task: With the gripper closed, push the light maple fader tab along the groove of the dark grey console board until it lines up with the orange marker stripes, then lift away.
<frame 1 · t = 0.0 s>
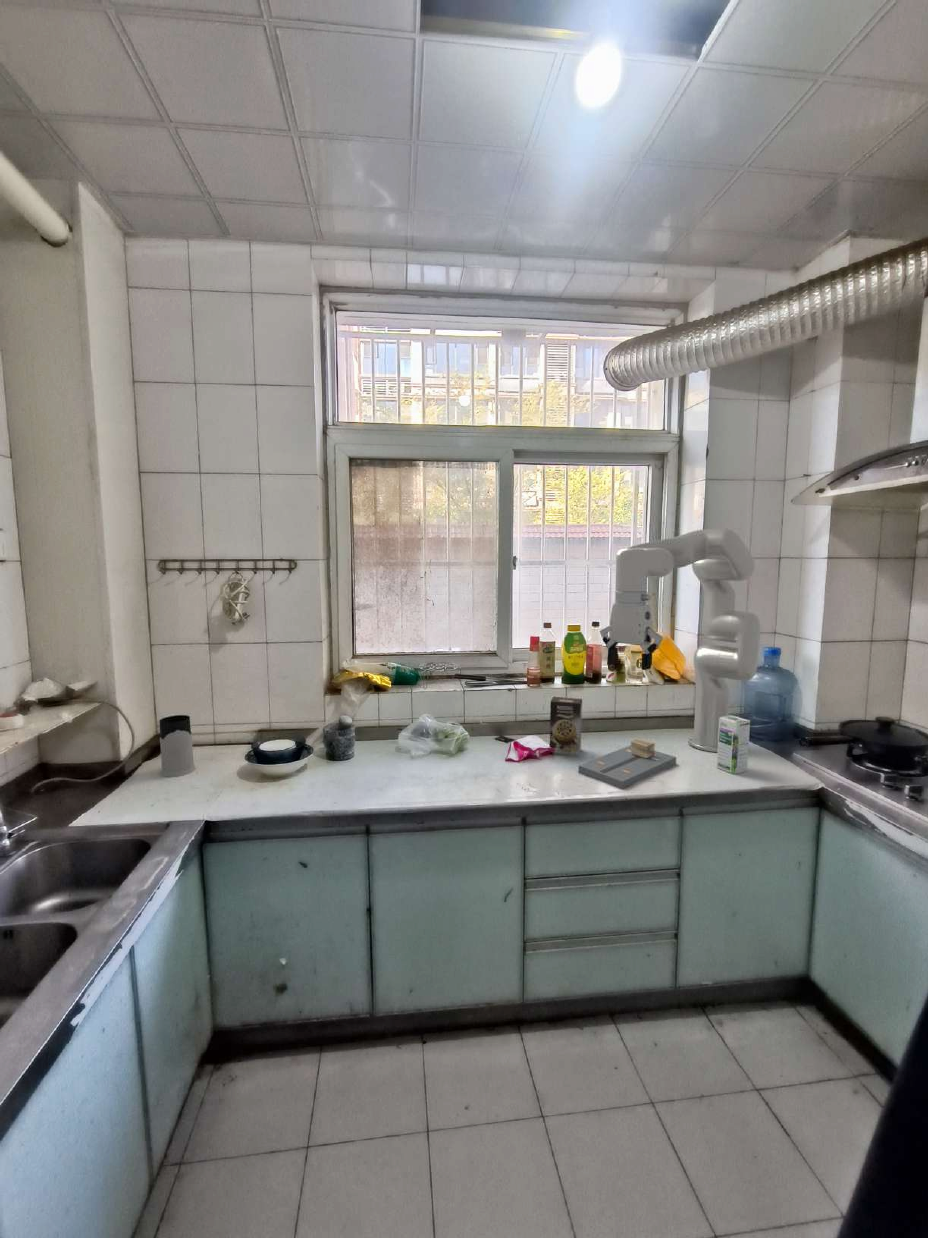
hand: (629, 666, 136), 31 cm above the counter, tool pointing down, fingers open, 9 cm apart
syrup box: (731, 770, 149), on the counter
console board: (628, 768, 150), on the counter
fader: (642, 748, 154), point 4 cm above the counter, slide at 0.0 cm
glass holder: (176, 768, 153), on the counter
cookie box: (565, 752, 164), on the counter
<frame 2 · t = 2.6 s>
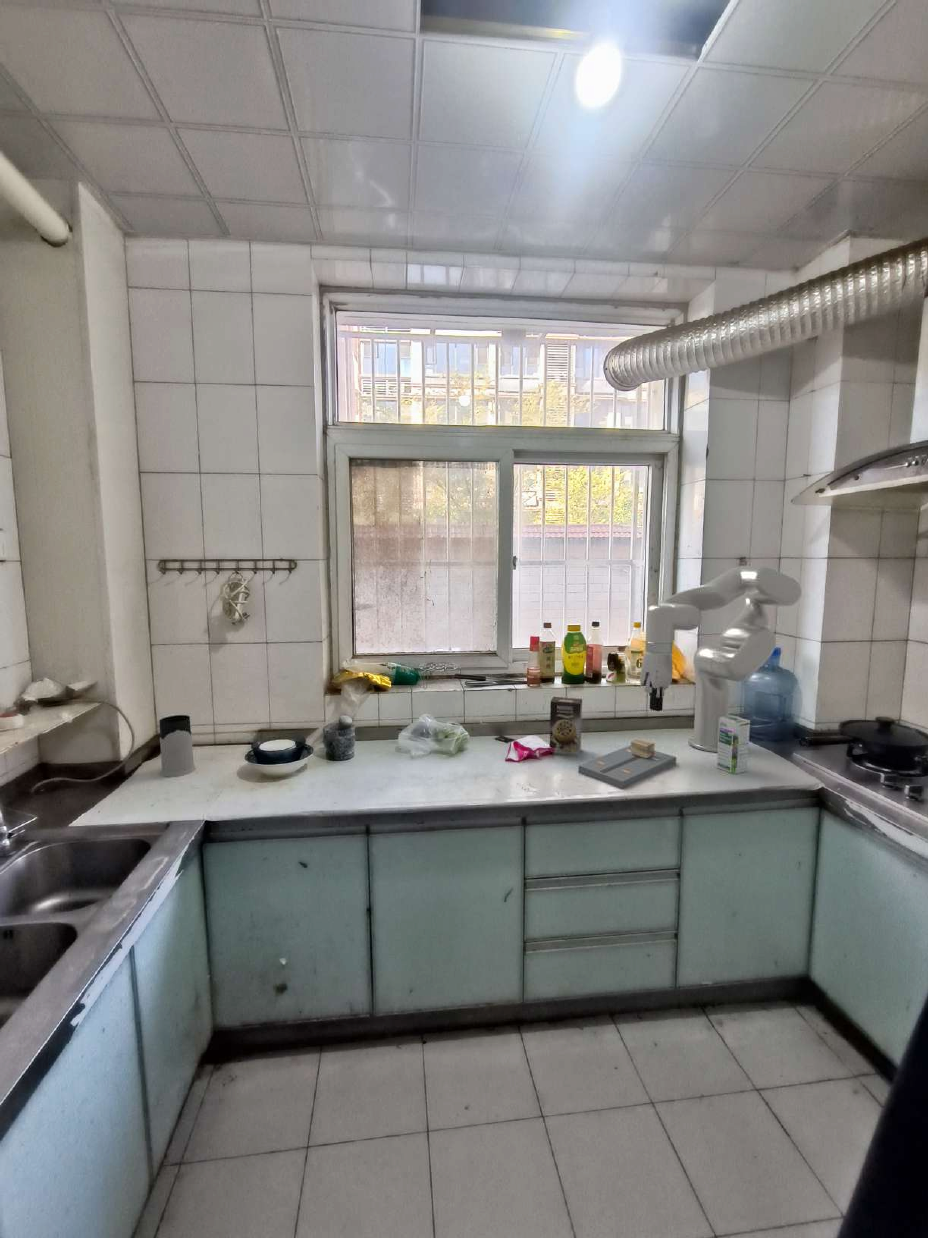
hand: (655, 709, 157), 14 cm above the counter, tool pointing down, fingers closed
nothing on the counter moved.
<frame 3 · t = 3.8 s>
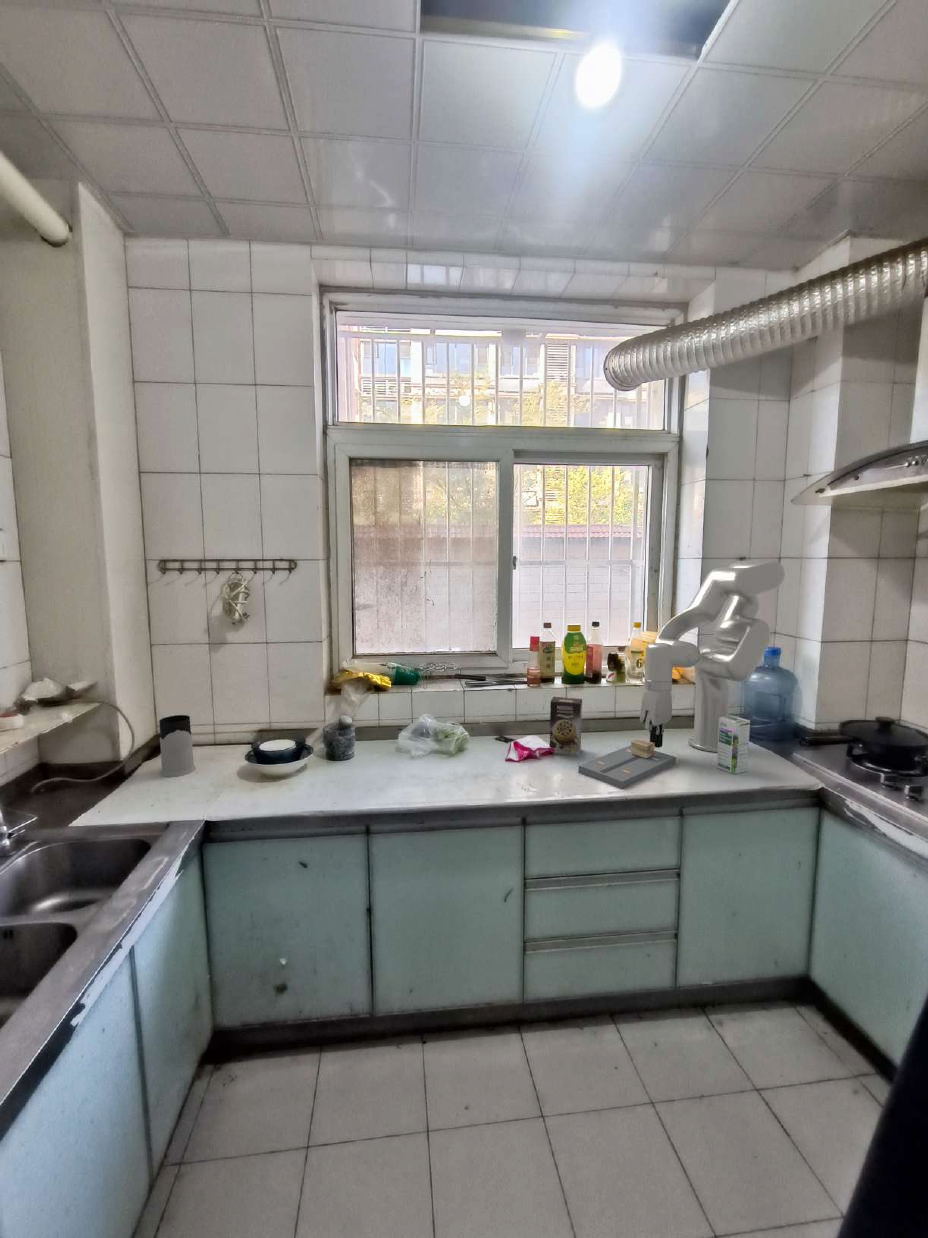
hand: (655, 746, 159), 3 cm above the counter, tool pointing down, fingers closed
nothing on the counter moved.
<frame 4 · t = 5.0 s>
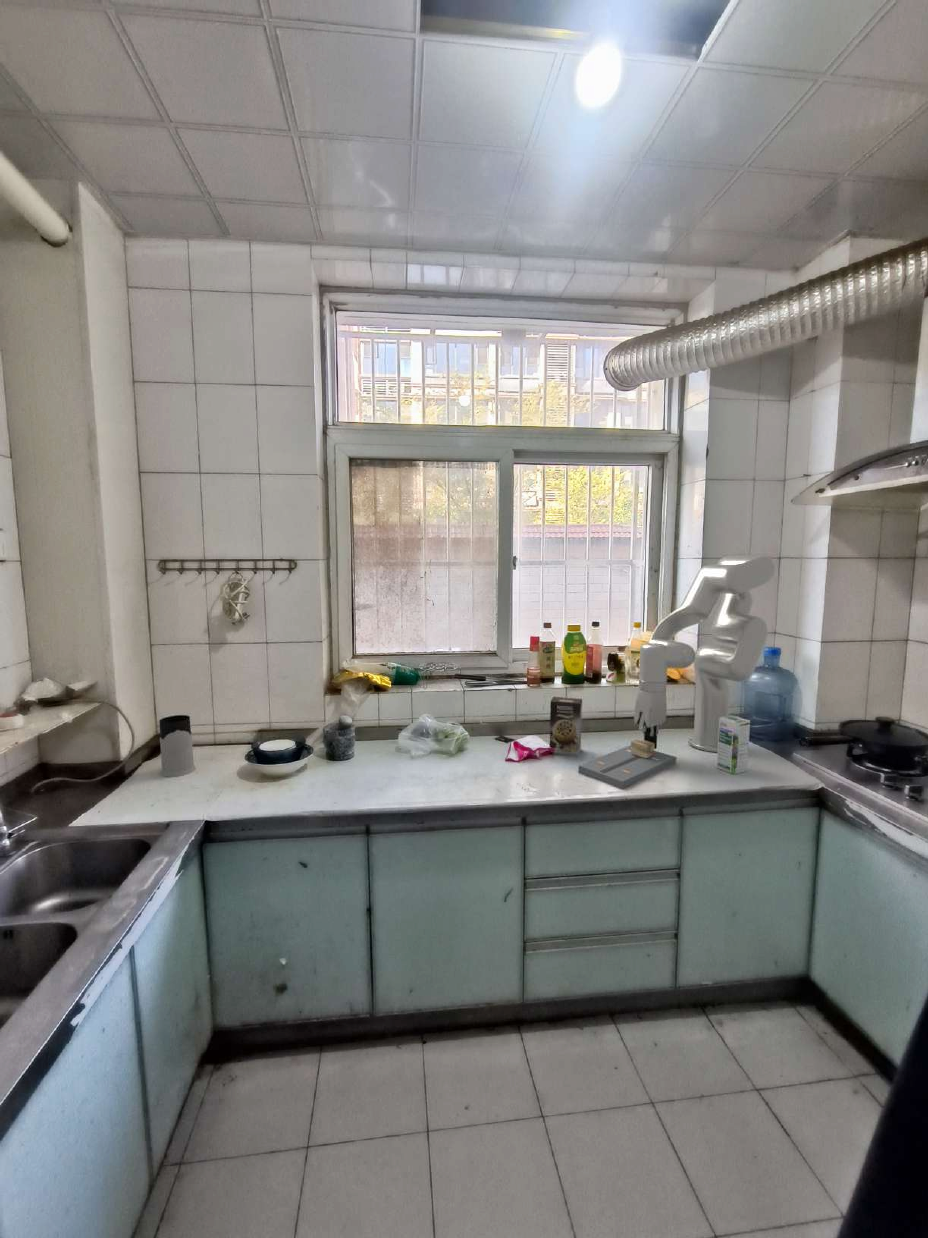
hand: (650, 747, 157), 3 cm above the counter, tool pointing down, fingers closed
fader: (642, 748, 154), point 4 cm above the counter, slide at 0.1 cm, touching gripper
everything else where it was.
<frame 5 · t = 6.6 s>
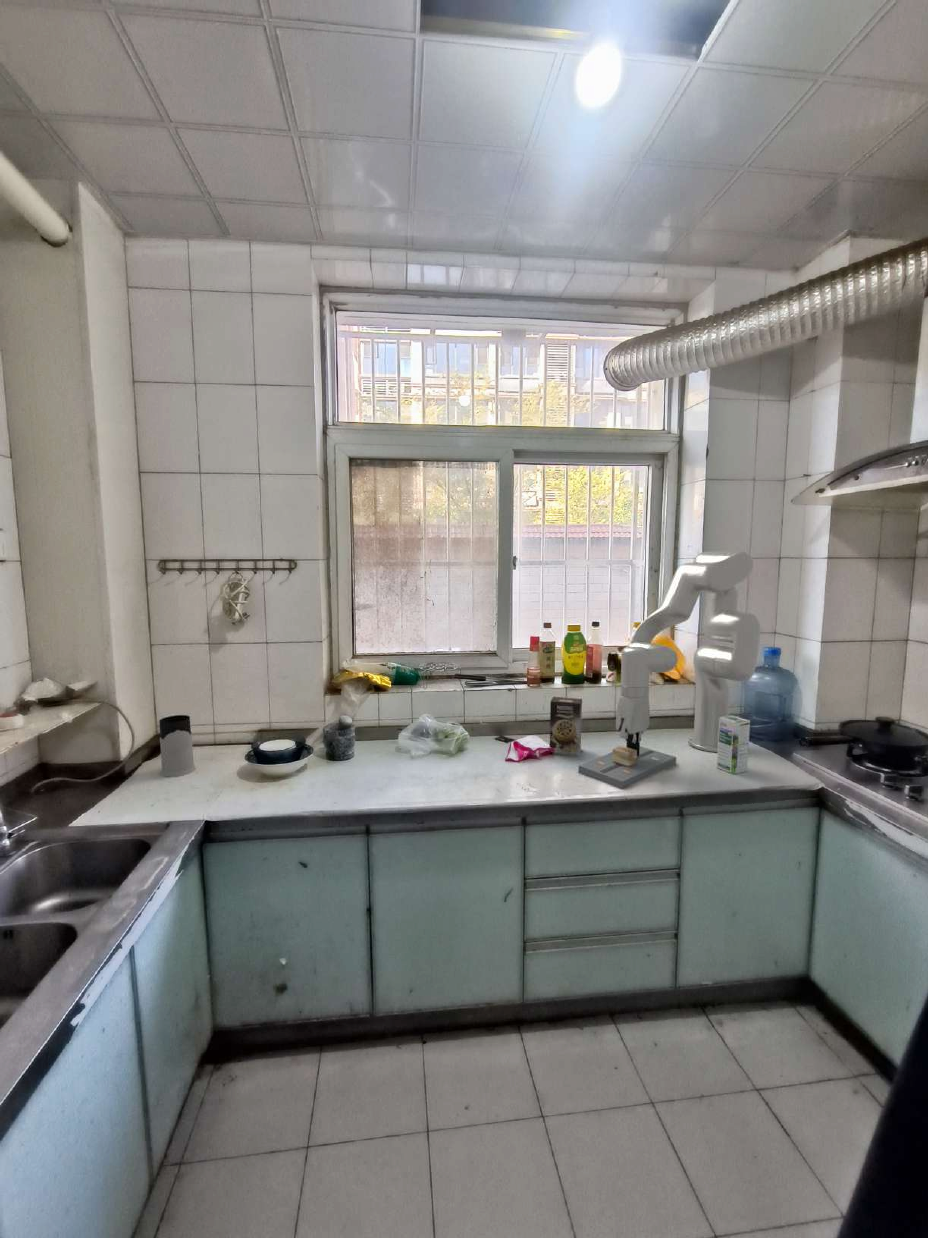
hand: (632, 755, 151), 3 cm above the counter, tool pointing down, fingers closed
fader: (624, 755, 149), point 4 cm above the counter, slide at 9.0 cm, touching gripper
everything else where it was.
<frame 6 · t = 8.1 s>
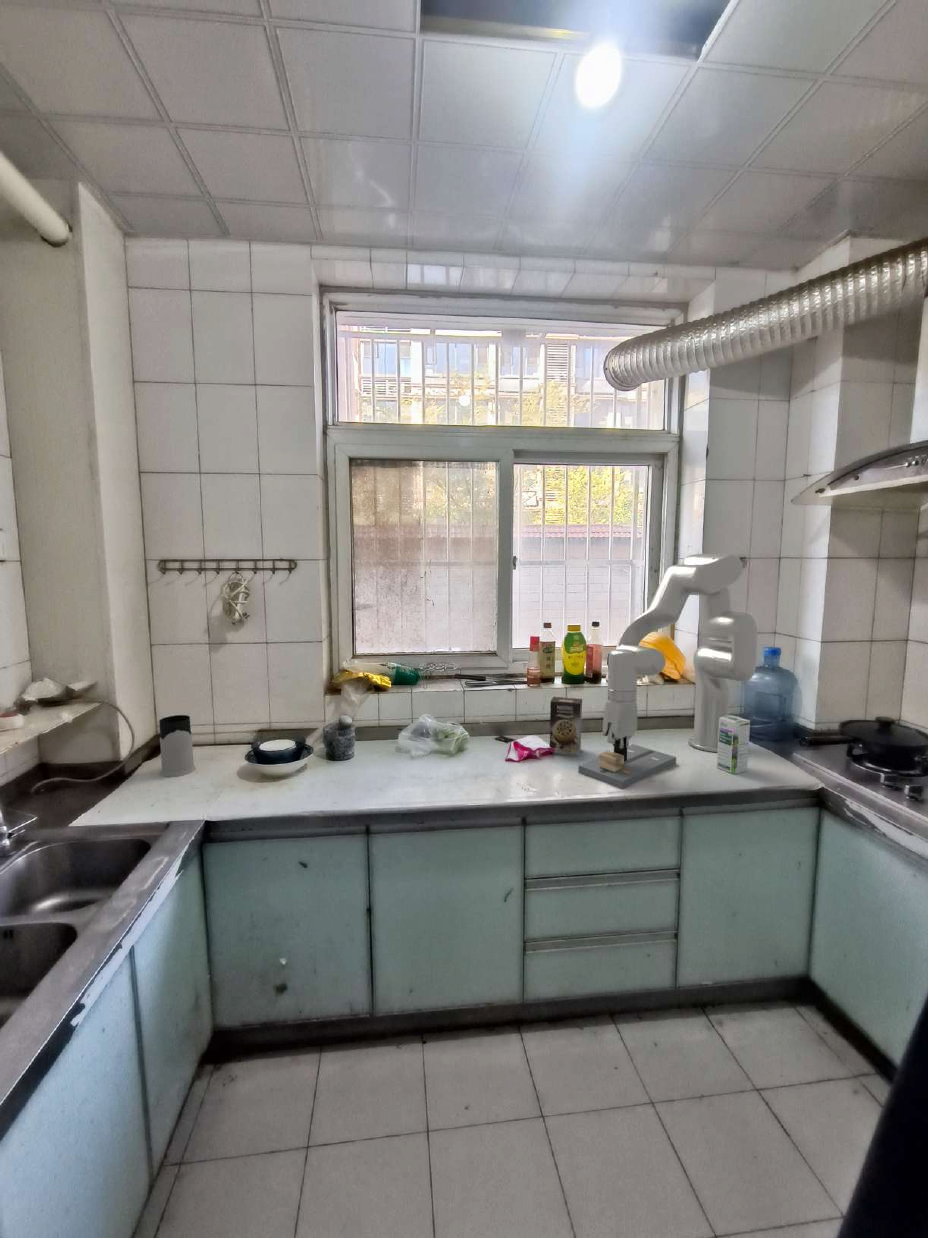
hand: (620, 760, 147), 3 cm above the counter, tool pointing down, fingers closed
fader: (611, 761, 145), point 4 cm above the counter, slide at 15.0 cm, touching gripper
everything else where it was.
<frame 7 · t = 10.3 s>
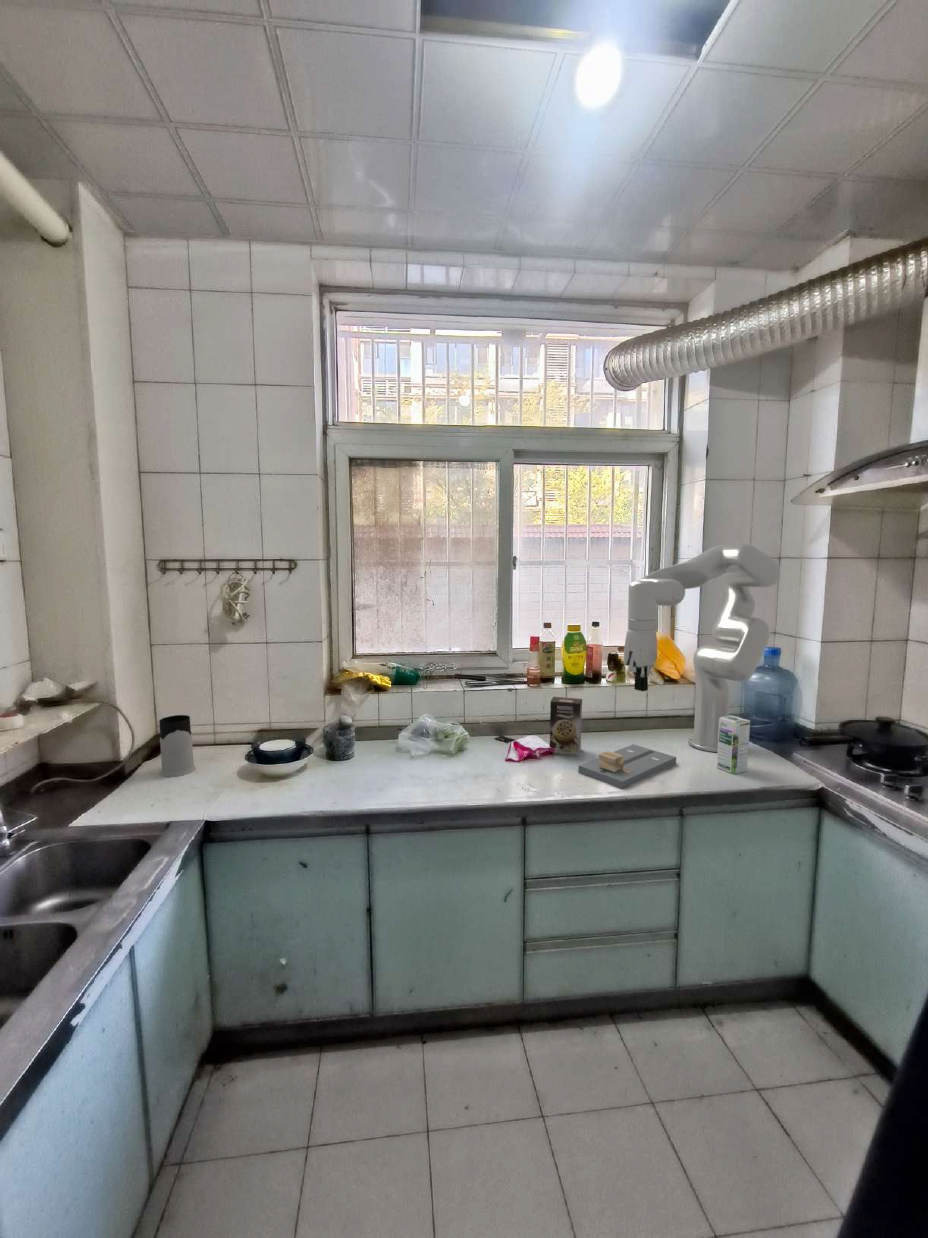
hand: (641, 689, 151), 21 cm above the counter, tool pointing down, fingers closed
fader: (610, 761, 145), point 4 cm above the counter, slide at 15.2 cm
everything else where it was.
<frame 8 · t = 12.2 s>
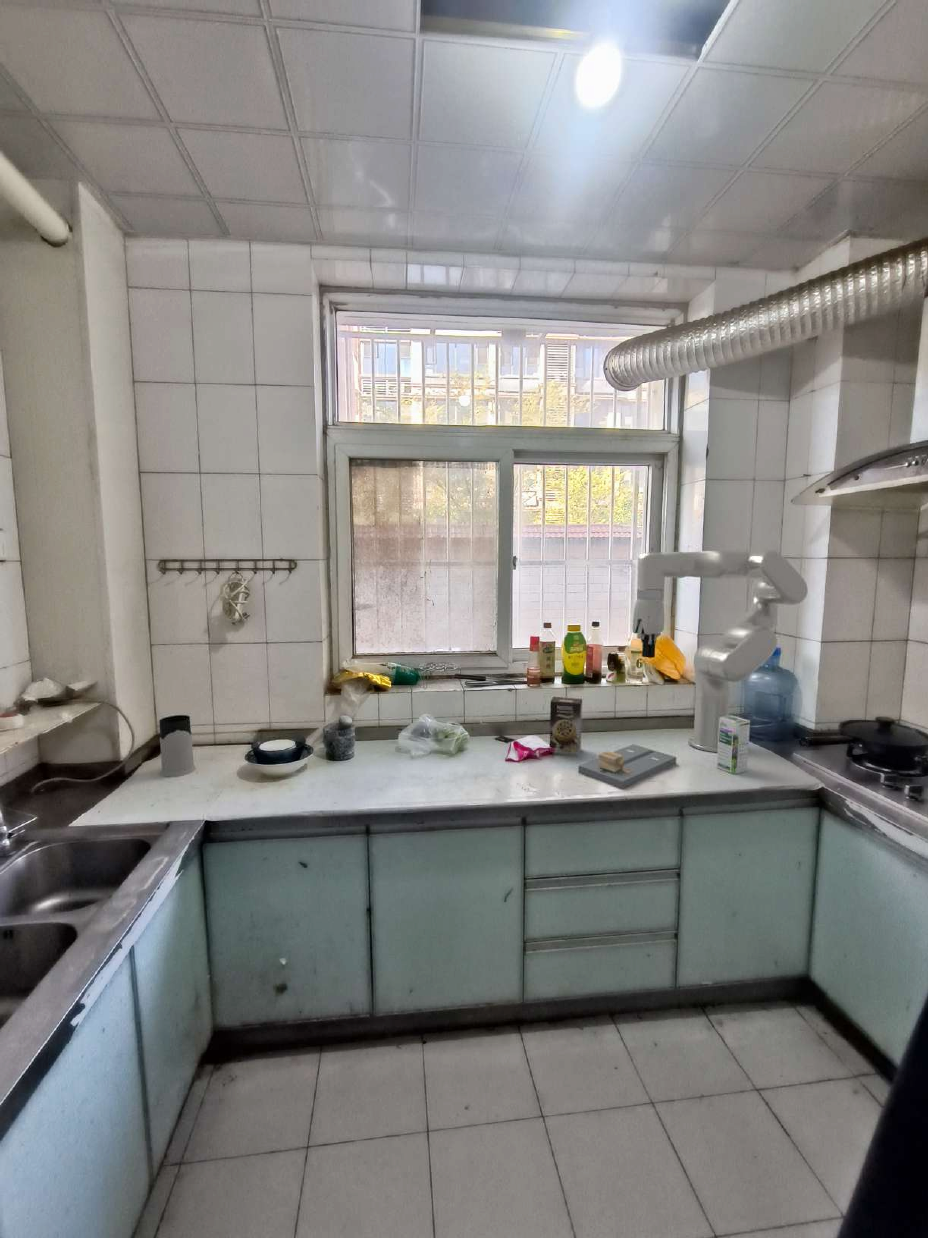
hand: (648, 656, 159), 29 cm above the counter, tool pointing down, fingers closed
nothing on the counter moved.
at the end: fader slide at 15.2 cm; cookie box moved 0.2 cm from its start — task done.
